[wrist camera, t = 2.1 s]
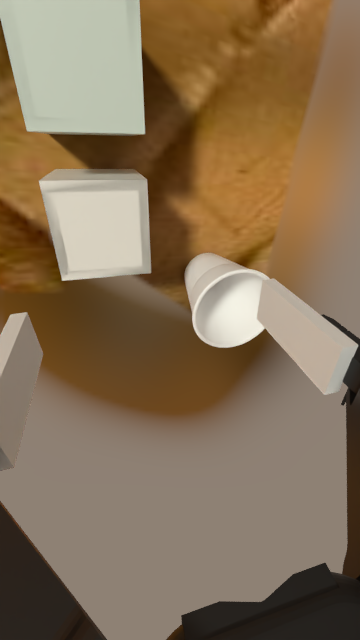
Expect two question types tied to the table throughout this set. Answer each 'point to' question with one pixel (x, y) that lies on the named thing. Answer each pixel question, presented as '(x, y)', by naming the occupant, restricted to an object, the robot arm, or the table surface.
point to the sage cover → (77, 65)
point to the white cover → (98, 221)
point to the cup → (223, 300)
